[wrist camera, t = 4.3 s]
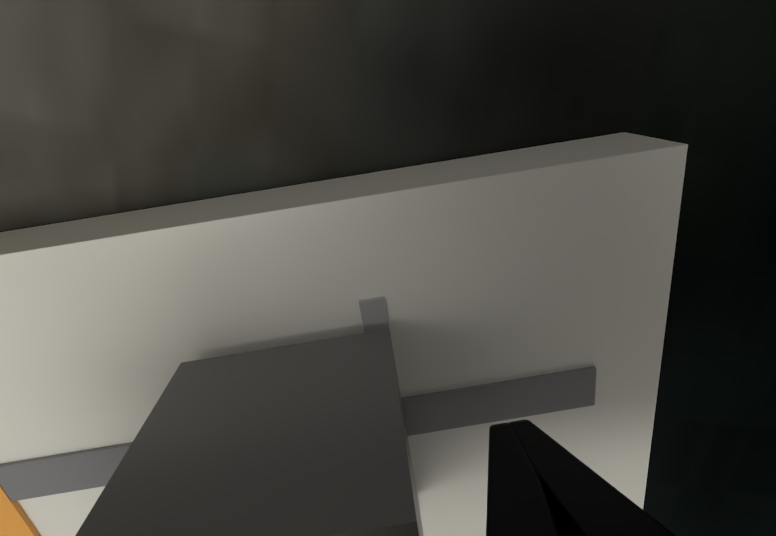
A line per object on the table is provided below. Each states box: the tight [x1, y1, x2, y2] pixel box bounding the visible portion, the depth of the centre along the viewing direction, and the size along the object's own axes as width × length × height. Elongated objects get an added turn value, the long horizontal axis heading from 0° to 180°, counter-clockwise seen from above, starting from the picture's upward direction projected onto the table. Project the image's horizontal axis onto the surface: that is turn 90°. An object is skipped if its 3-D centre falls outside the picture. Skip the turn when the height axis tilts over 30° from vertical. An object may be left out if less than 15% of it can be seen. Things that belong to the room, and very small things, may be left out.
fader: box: [75, 329, 424, 536], centre depth 8 cm, size 4×5×4 cm
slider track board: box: [0, 132, 688, 536], centre depth 11 cm, size 20×10×2 cm, turn 98°
